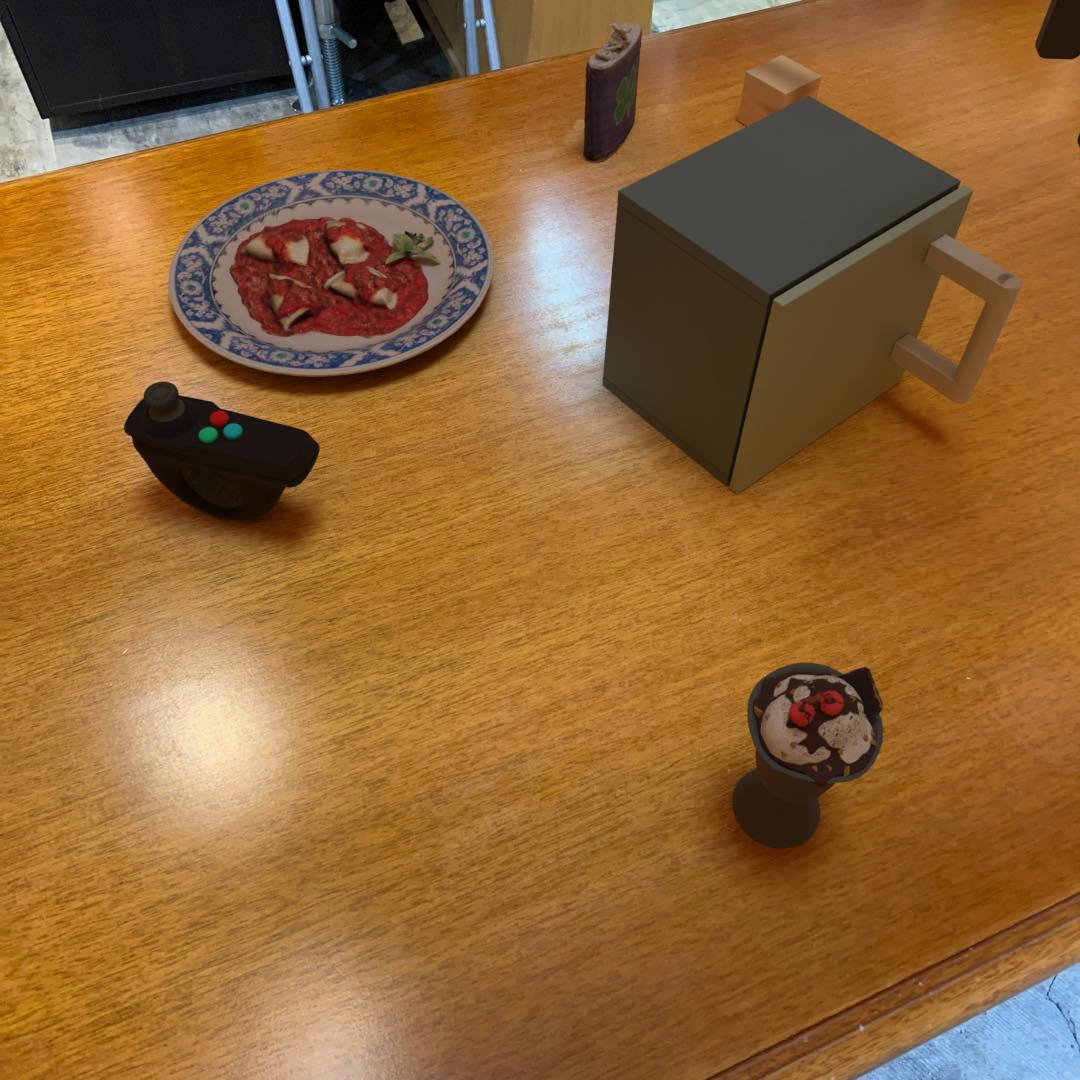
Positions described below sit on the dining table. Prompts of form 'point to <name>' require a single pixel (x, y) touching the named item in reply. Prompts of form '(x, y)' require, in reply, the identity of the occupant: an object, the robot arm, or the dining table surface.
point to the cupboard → (740, 260)
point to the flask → (611, 92)
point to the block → (775, 88)
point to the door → (867, 335)
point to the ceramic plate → (330, 273)
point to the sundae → (805, 747)
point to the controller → (218, 453)
